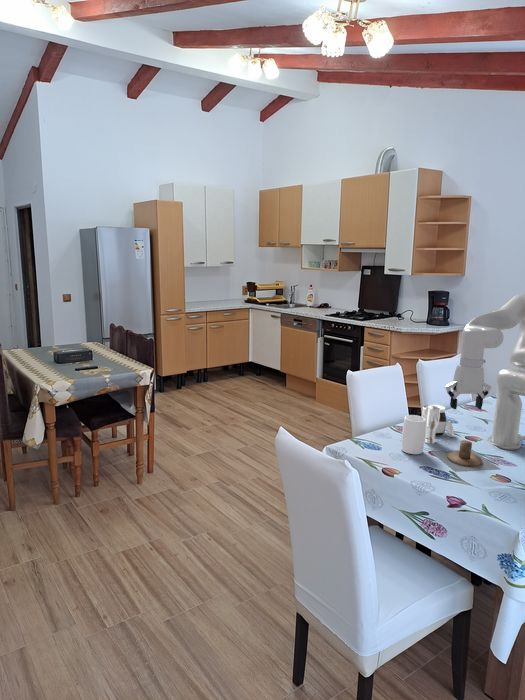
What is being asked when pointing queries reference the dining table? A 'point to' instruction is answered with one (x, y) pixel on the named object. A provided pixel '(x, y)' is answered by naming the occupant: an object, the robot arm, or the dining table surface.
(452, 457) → the lid
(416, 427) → the cup
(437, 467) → the dining table surface
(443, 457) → the mat
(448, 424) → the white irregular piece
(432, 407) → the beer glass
